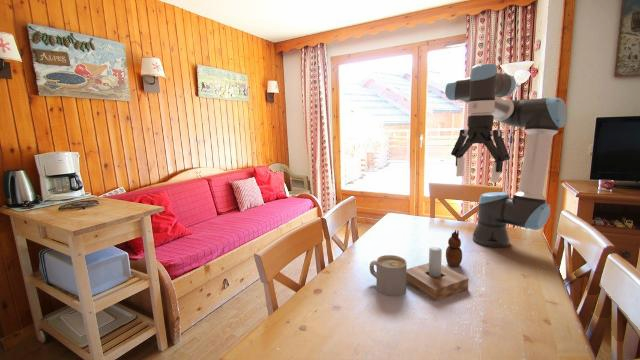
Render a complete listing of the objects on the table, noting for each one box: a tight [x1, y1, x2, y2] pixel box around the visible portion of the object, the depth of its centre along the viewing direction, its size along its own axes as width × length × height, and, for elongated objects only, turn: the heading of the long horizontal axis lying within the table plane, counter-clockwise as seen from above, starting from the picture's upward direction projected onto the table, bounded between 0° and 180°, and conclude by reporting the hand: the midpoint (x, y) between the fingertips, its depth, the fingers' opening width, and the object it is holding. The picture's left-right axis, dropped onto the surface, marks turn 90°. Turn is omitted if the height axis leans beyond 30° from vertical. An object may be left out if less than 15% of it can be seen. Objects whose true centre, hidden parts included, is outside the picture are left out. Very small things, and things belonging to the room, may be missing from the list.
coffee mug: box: [369, 254, 408, 297], centre depth 108 cm, size 13×10×10 cm
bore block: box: [406, 262, 469, 302], centre depth 109 cm, size 15×15×4 cm
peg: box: [428, 246, 443, 279], centre depth 108 cm, size 4×4×12 cm
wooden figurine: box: [445, 229, 463, 268], centre depth 122 cm, size 7×6×15 cm
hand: (476, 178), depth 105 cm, fingers open, 13 cm apart
